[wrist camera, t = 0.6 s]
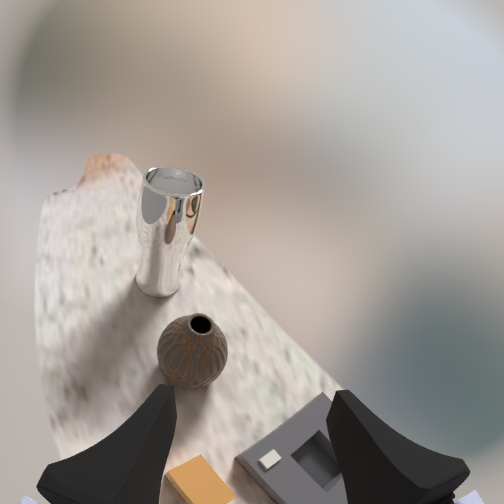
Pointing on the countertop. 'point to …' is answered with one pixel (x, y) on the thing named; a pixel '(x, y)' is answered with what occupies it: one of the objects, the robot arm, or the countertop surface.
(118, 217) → the countertop surface
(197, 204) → the metal tumbler
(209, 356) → the vase
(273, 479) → the socket
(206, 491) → the plug
